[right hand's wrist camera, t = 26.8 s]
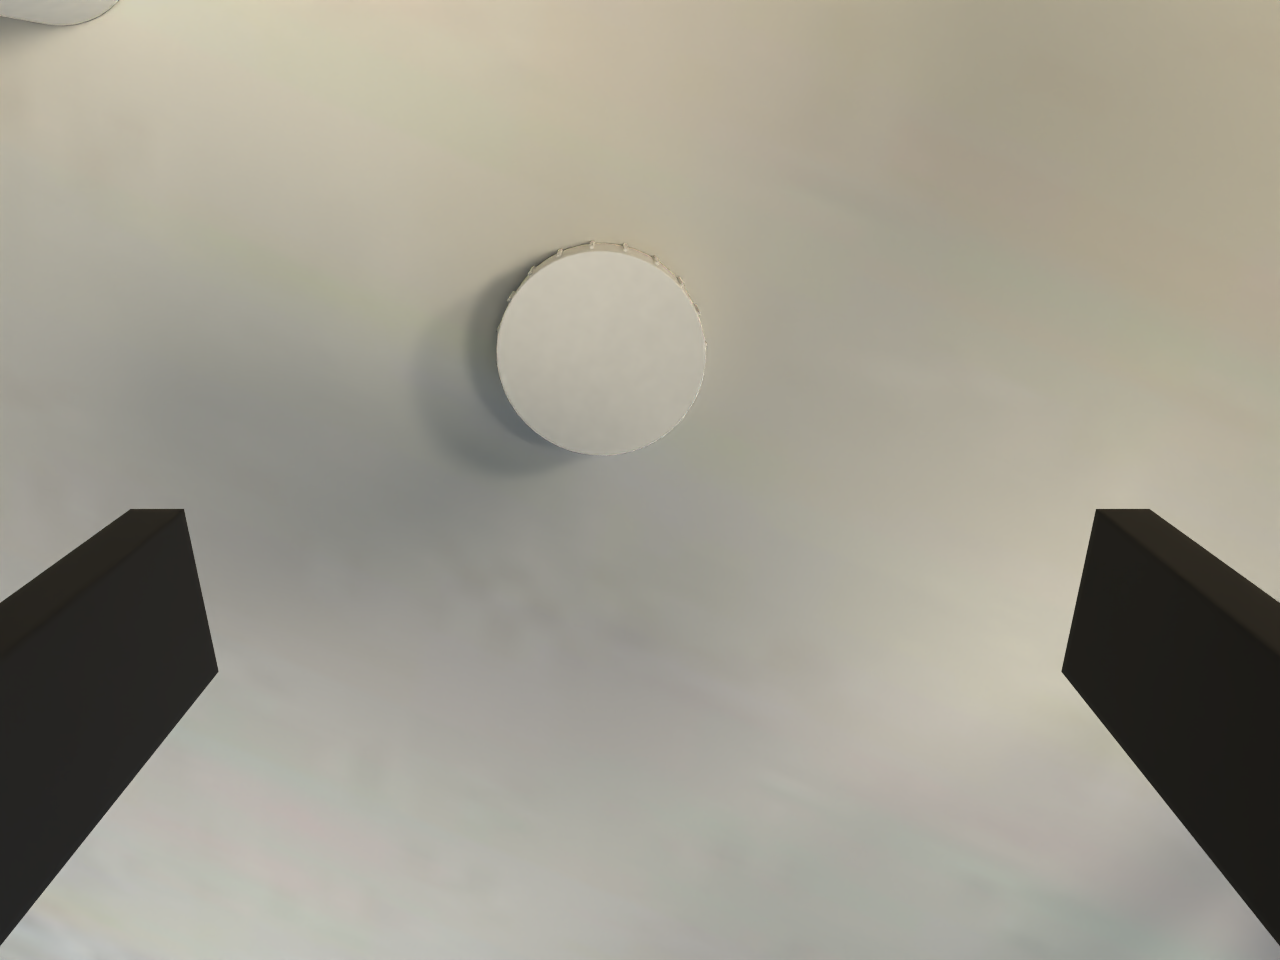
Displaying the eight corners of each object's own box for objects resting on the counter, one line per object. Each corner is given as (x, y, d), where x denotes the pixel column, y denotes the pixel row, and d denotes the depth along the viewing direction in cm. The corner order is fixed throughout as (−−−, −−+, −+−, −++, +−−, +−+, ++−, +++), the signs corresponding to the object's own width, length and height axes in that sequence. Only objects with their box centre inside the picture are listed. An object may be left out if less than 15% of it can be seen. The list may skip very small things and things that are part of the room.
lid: (712, 249, 24) (719, 257, 23) (691, 445, 27) (696, 464, 25) (503, 233, 24) (496, 240, 23) (499, 431, 26) (492, 451, 25)
